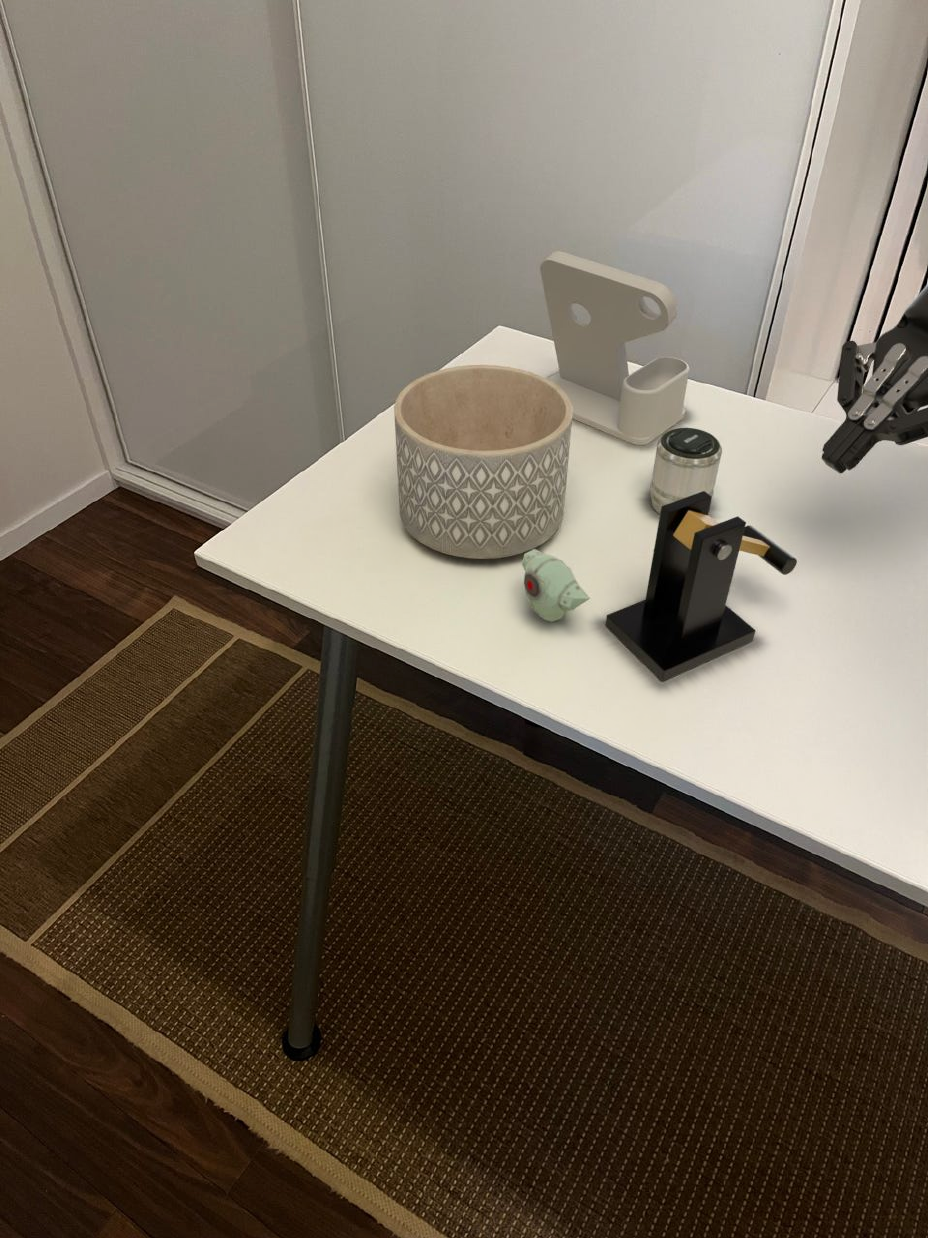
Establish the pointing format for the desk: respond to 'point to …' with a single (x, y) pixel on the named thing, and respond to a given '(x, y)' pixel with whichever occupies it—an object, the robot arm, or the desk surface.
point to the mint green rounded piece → (550, 586)
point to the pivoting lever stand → (686, 596)
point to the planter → (482, 459)
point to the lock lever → (750, 541)
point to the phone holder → (612, 348)
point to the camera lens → (684, 465)
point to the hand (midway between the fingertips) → (831, 465)
